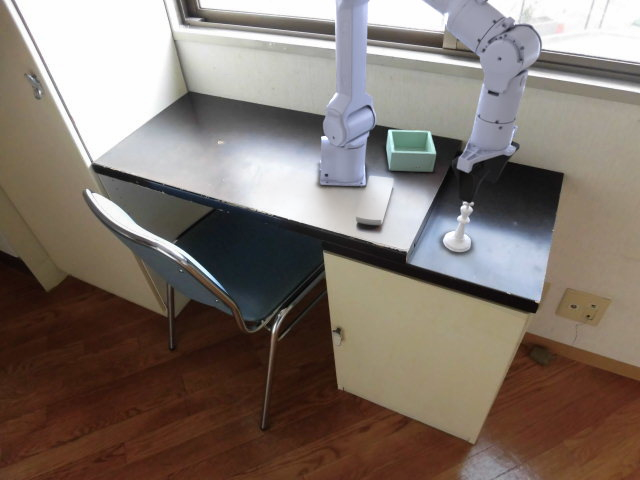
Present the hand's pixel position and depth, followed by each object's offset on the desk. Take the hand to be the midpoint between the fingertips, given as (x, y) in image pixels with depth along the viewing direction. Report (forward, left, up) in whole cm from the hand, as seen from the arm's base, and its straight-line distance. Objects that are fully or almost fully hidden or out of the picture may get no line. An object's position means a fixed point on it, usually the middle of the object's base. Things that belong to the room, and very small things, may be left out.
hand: (477, 190), depth 79 cm
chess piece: (-1, -1, -12) cm, 12 cm away
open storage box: (-7, +26, -12) cm, 30 cm away
